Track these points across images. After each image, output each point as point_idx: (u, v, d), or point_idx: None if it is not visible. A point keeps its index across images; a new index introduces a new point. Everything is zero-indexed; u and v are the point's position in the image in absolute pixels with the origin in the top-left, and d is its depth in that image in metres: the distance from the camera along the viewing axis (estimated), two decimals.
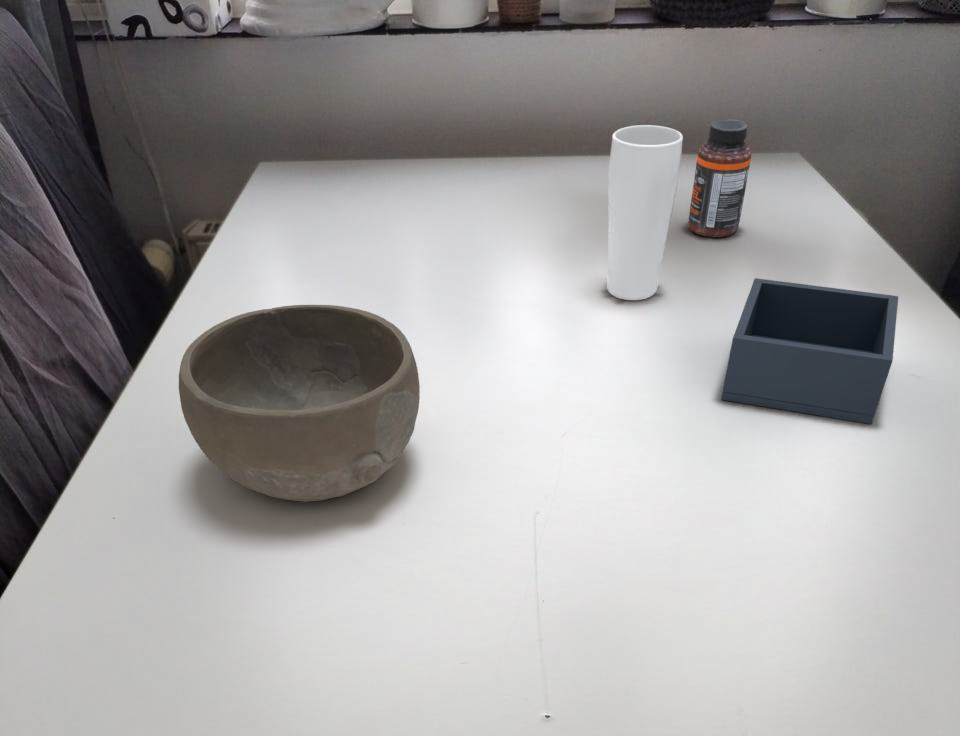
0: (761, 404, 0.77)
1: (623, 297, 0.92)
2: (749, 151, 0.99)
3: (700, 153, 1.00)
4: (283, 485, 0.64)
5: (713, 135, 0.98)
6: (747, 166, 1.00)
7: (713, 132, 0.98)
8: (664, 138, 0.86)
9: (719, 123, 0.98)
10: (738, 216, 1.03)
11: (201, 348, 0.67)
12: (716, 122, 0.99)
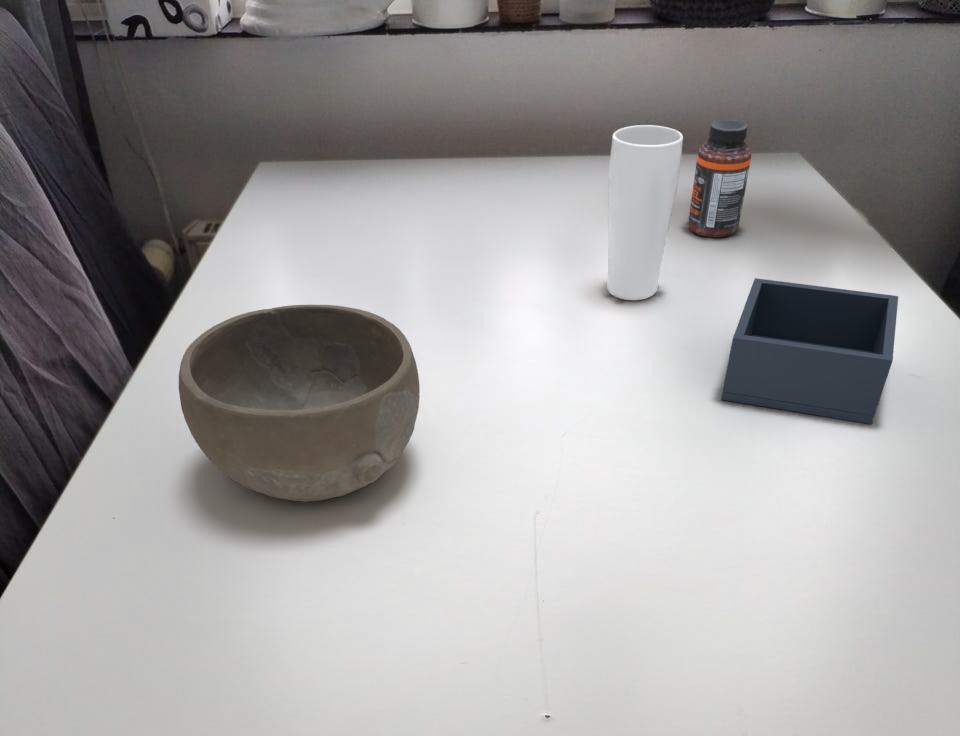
0: (761, 404, 0.77)
1: (623, 297, 0.92)
2: (749, 151, 0.99)
3: (700, 153, 1.00)
4: (283, 485, 0.64)
5: (713, 135, 0.98)
6: (747, 166, 1.00)
7: (713, 132, 0.98)
8: (664, 138, 0.86)
9: (719, 123, 0.98)
10: (738, 216, 1.03)
11: (201, 348, 0.67)
12: (716, 122, 0.99)
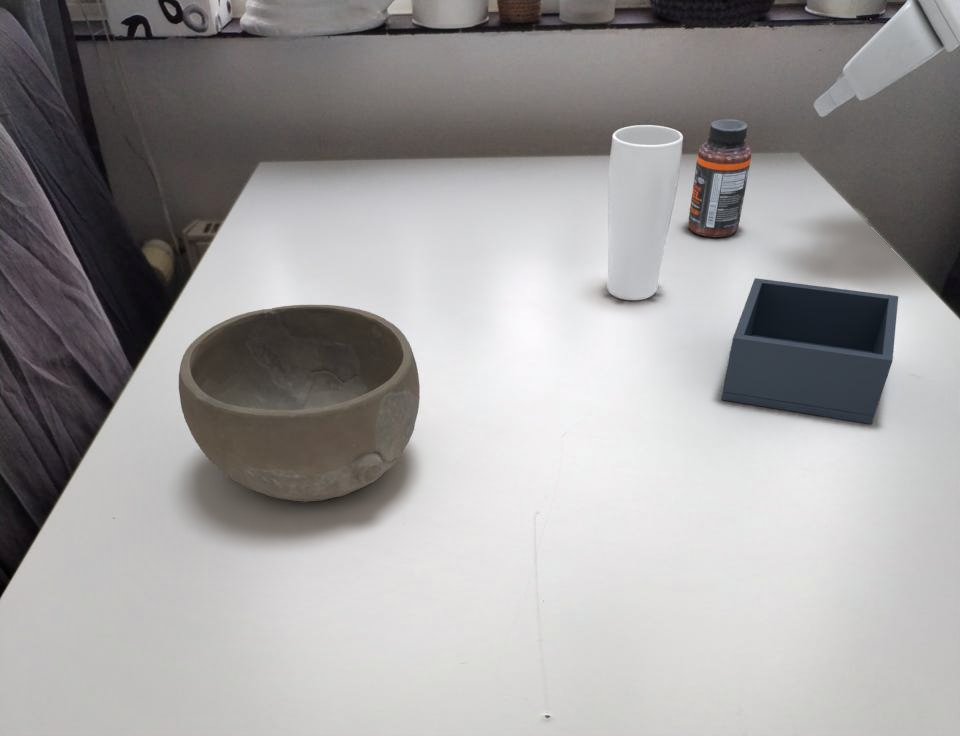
0: (761, 404, 0.77)
1: (623, 297, 0.92)
2: (749, 151, 0.99)
3: (700, 153, 1.00)
4: (283, 485, 0.64)
5: (713, 135, 0.98)
6: (747, 166, 1.00)
7: (713, 132, 0.98)
8: (664, 138, 0.86)
9: (719, 123, 0.98)
10: (738, 216, 1.03)
11: (201, 348, 0.67)
12: (716, 122, 0.99)
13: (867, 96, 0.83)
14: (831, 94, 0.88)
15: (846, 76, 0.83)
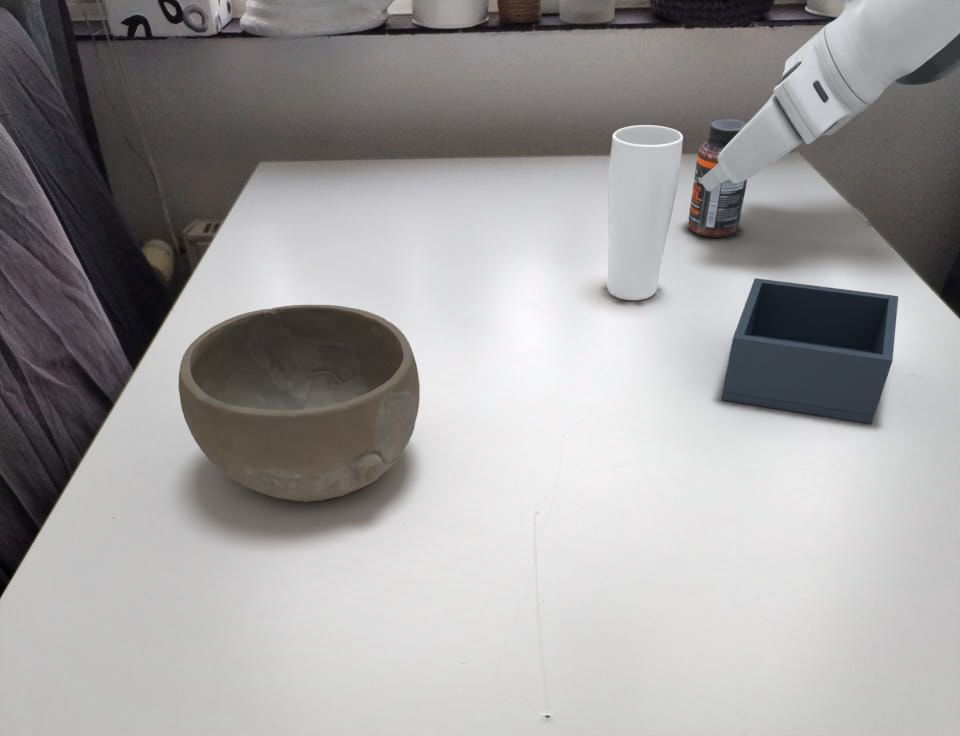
0: (761, 404, 0.77)
1: (623, 297, 0.92)
2: None
3: (700, 153, 1.00)
4: (283, 485, 0.64)
5: (714, 134, 0.98)
6: None
7: (713, 132, 0.98)
8: (664, 138, 0.86)
9: (719, 123, 0.98)
10: (738, 216, 1.03)
11: (201, 348, 0.67)
12: (716, 122, 0.99)
13: (739, 181, 0.92)
14: (715, 172, 0.98)
15: (720, 163, 0.92)
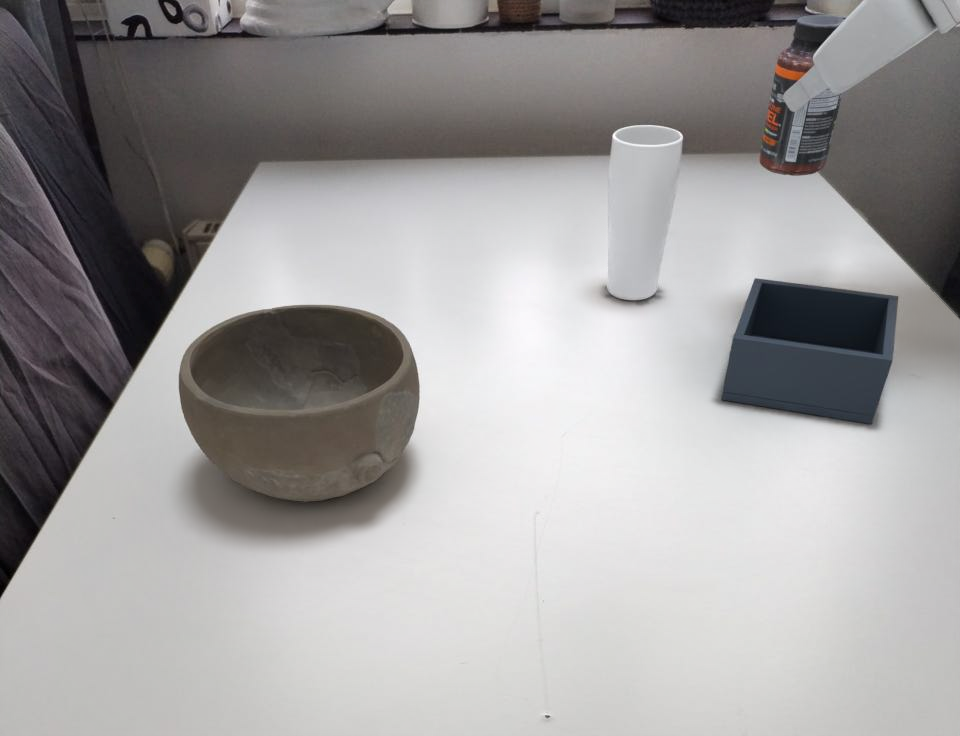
0: (761, 404, 0.77)
1: (623, 297, 0.92)
2: None
3: (781, 60, 0.75)
4: (283, 485, 0.64)
5: (801, 33, 0.74)
6: None
7: (800, 30, 0.73)
8: (664, 138, 0.86)
9: (808, 19, 0.74)
10: (827, 147, 0.79)
11: (201, 348, 0.67)
12: (804, 18, 0.74)
13: (843, 89, 0.68)
14: (803, 84, 0.73)
15: (817, 65, 0.68)
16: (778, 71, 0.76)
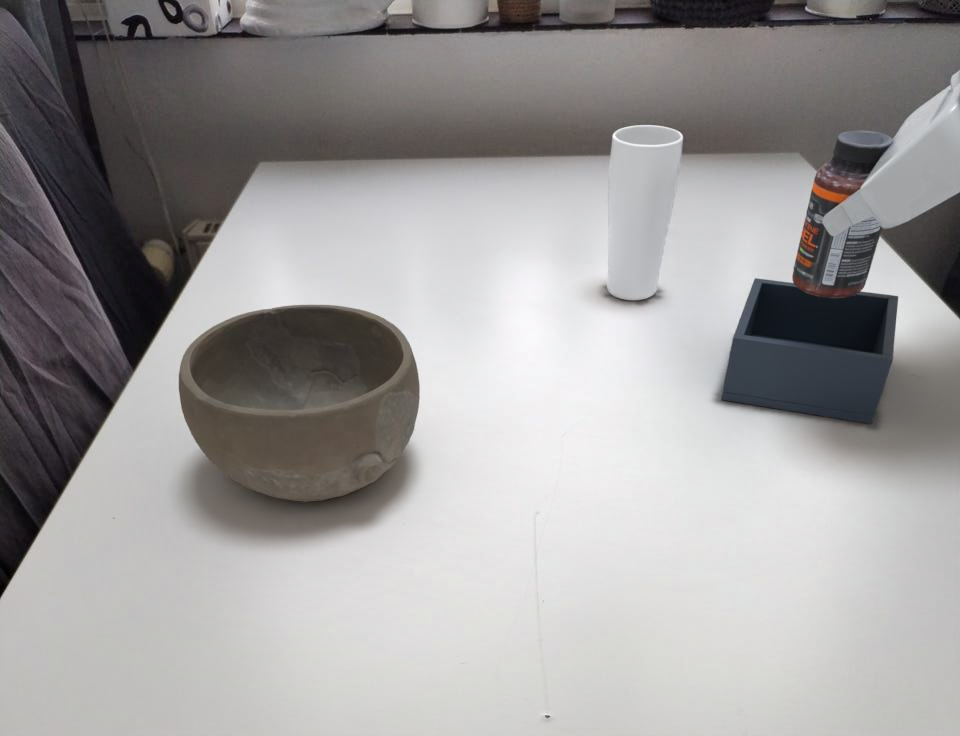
0: (761, 404, 0.77)
1: (623, 297, 0.92)
2: None
3: (820, 179, 0.68)
4: (283, 485, 0.64)
5: (842, 153, 0.67)
6: None
7: (842, 149, 0.67)
8: (664, 138, 0.86)
9: (850, 136, 0.67)
10: (868, 269, 0.72)
11: (201, 348, 0.67)
12: (845, 134, 0.67)
13: (894, 225, 0.61)
14: (846, 209, 0.66)
15: (865, 198, 0.61)
16: (816, 190, 0.69)
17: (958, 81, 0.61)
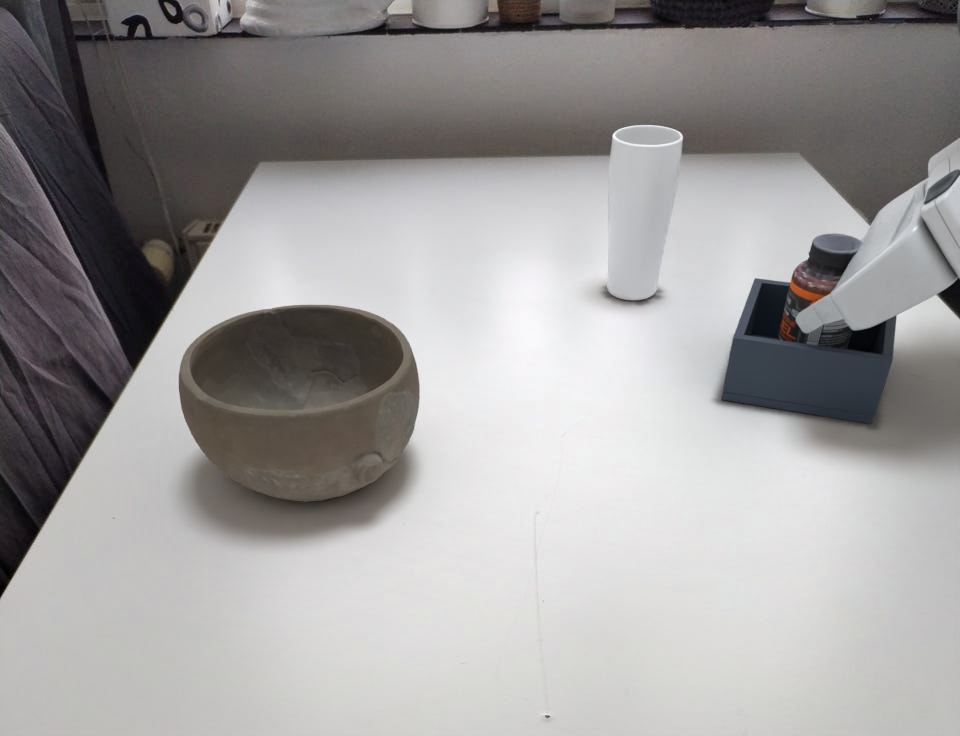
0: (761, 404, 0.77)
1: (623, 297, 0.92)
2: None
3: (796, 279, 0.74)
4: (283, 485, 0.64)
5: (817, 256, 0.72)
6: None
7: (816, 253, 0.72)
8: (664, 138, 0.86)
9: (824, 240, 0.72)
10: None
11: (201, 348, 0.67)
12: (819, 239, 0.73)
13: (862, 328, 0.66)
14: (817, 310, 0.71)
15: (835, 303, 0.66)
16: (793, 288, 0.74)
17: (921, 195, 0.66)
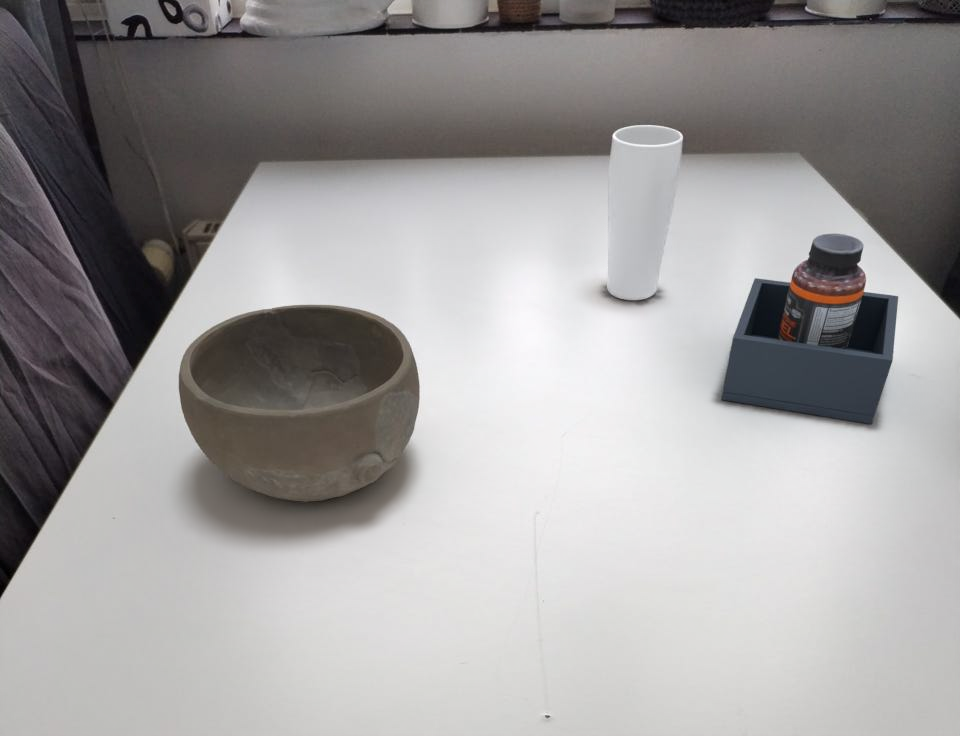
0: (761, 404, 0.77)
1: (623, 297, 0.92)
2: (864, 277, 0.73)
3: (796, 279, 0.74)
4: (283, 485, 0.64)
5: (817, 257, 0.72)
6: (860, 297, 0.74)
7: (816, 253, 0.72)
8: (664, 138, 0.86)
9: (824, 240, 0.72)
10: None
11: (201, 348, 0.67)
12: (820, 239, 0.73)
13: None
14: None
15: None
16: (793, 288, 0.74)
17: None
